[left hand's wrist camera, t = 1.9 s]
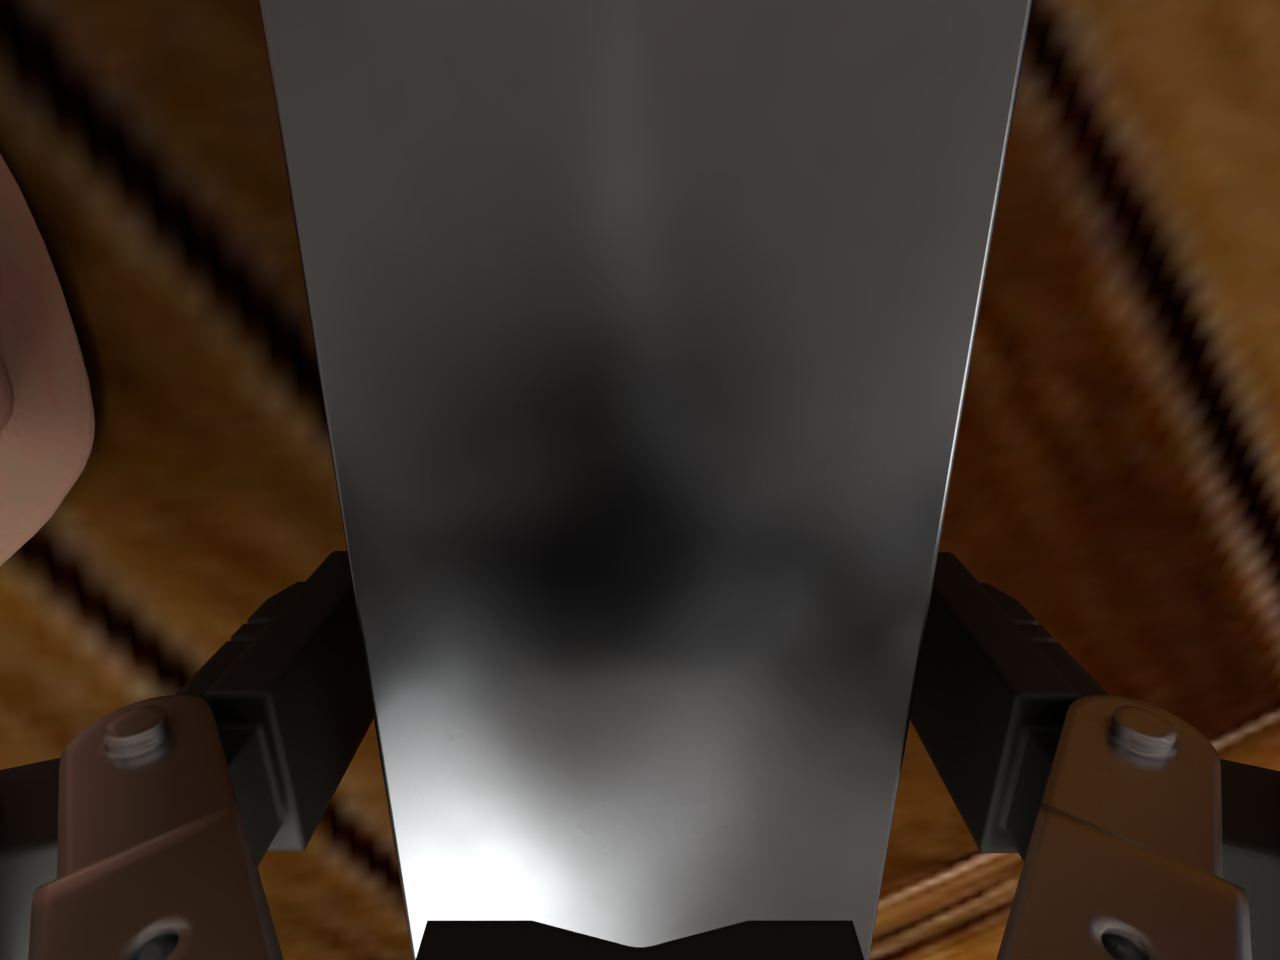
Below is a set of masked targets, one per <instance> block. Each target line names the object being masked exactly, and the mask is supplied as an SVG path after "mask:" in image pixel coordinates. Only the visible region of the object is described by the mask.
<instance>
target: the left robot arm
mask: <svg viewBox="0 0 1280 960" xmlns="http://www.w3.org/2000/svg"><path fill="white" fill-rule="evenodd" d="M373 719H374V715H373V709H372V703H371V696H370V690H369V684H368V678H367V671H366V665H365V659H364V653H363V646H362V640H361V634H360V628H359V622H358V615H357V609H356V603H355V597H354V590H353V584H352V578H351V572H350V565H349V559H348V553H347V551H334V552H332V553H331V554H330V555H329V556H328V557H327V558H326V559H325V561H324V562H323V563H322V564H321V565H320V566H319V567H318V568H317V569H316V570H315V572H314V573H313V574H312V575H311V576H310V577H309V578H308V579H307V580H306V582H297V583H295V584H293V585H291V586H290V587H288V588H286V589H284V590H283V591H281V592H279V593H277V594H276V595H274V596H272V597H270V598H269V599H267V600H266V601H265V602H264V603H263V604H262V605H261V606H260V607H259V609H258V610H257V611H256V612H255V613H254V614H253V615H252V616H251V617H250V618H249V619H248V623H247V624H243V625H242V626H241V627H240V628H239V629H238V630H237V631H236V632H235V633H234V634H233V636H232V637H231V641H227V642H226V643H225V644H224V645H223V646H222V647H221V648H220V649H219V650H218V651H217V652H216V653H215V654H214V655H213V656H212V657H211V658H210V659H209V660H208V661H207V663H206V664H205V665H204V666H203V667H202V668H201V669H200V670H199V671H198V672H197V673H196V674H195V675H194V676H193V677H192V678H191V679H190V680H189V681H188V682H187V683H186V684H185V685H184V686H183V687H182V688H181V690H180V691H179V692H178V693H177V694H176V695H169V696H161V697H156V698H151V699H146V700H143V701H140V702H136V703H133V704H131V705H128V706H125V707H123V708H120V709H118V710H116V711H114V712H111V713H109V714H108V715H106V716H104V717H102V718H100V719H99V720H97V721H95V722H94V723H92V724H91V725H89V726H88V727H87V728H85V729H84V730H83V731H81V732H80V733H79V734H78V735H77V736H76V737H75V738H74V739H73V740H72V741H71V742H70V743H69V744H68V746H67V747H66V748H65V750H64V752H63V754H62V756H61V758H57V759H52V760H48V761H43V762H38V763H33V764H28V765H23V766H19V767H14V768H9V769H4V770H0V960H283V957H282V953H281V950H280V946H279V942H278V939H277V935H276V932H275V928H274V925H273V921H272V918H271V914H270V911H269V907H268V904H267V900H266V897H265V893H264V889H263V886H262V882H261V879H260V875H259V872H258V868H257V867H258V865H259V864H260V862H261V860H262V858H263V857H264V855H265V853H266V852H267V850H305V848H306V846H307V844H308V842H309V840H310V838H311V837H312V835H313V833H314V831H315V829H316V827H317V825H318V823H319V821H320V819H321V818H322V816H323V814H324V812H325V810H326V808H327V806H328V804H329V802H330V800H331V799H332V797H333V795H334V793H335V791H336V789H337V787H338V785H339V783H340V781H341V780H342V778H343V776H344V774H345V772H346V770H347V768H348V766H349V764H350V762H351V761H352V759H353V757H354V755H355V753H356V751H357V749H358V747H359V745H360V743H361V742H362V740H363V738H364V736H365V734H366V732H367V730H368V728H369V726H370V724H371V723H372V721H373ZM910 720H911V722H912V724H913V726H914V728H915V729H916V731H917V733H918V735H919V737H920V739H921V741H922V743H923V745H924V746H925V748H926V750H927V752H928V754H929V756H930V758H931V760H932V761H933V763H934V765H935V767H936V769H937V771H938V773H939V775H940V776H941V778H942V780H943V782H944V784H945V786H946V788H947V790H948V791H949V793H950V795H951V797H952V799H953V801H954V803H955V805H956V806H957V808H958V810H959V812H960V814H961V816H962V818H963V820H964V821H965V823H966V825H967V827H968V829H969V831H970V833H971V835H972V836H973V838H974V840H975V842H976V844H977V846H978V848H979V850H980V852H981V853H1019V854H1020V856H1021V858H1022V859H1023V861H1024V865H1023V868H1022V872H1021V875H1020V879H1019V882H1018V886H1017V889H1016V893H1015V897H1014V900H1013V904H1012V907H1011V911H1010V914H1009V918H1008V921H1007V925H1006V928H1005V932H1004V935H1003V939H1002V942H1001V946H1000V950H999V953H998V957H997V960H1280V771H1276V770H1271V769H1266V768H1261V767H1256V766H1251V765H1247V764H1242V763H1237V762H1232V761H1227V760H1223V759H1220V758H1219V756H1218V754H1217V752H1216V750H1215V748H1214V747H1213V746H1212V744H1211V743H1210V742H1209V741H1208V740H1207V739H1206V738H1205V737H1204V736H1203V735H1202V734H1201V733H1200V732H1199V731H1197V730H1196V729H1195V728H1193V727H1192V726H1191V725H1189V724H1188V723H1186V722H1185V721H1183V720H1181V719H1180V718H1178V717H1176V716H1174V715H1172V714H1171V713H1169V712H1166V711H1164V710H1162V709H1160V708H1157V707H1155V706H1152V705H1149V704H1147V703H1144V702H1140V701H1137V700H1134V699H1129V698H1124V697H1119V696H1111V695H1109V694H1108V693H1107V692H1106V691H1105V690H1104V689H1103V688H1102V687H1101V686H1100V685H1099V684H1098V683H1097V682H1096V681H1095V680H1094V679H1093V678H1092V677H1091V676H1090V675H1089V674H1088V673H1087V672H1086V671H1085V670H1084V669H1083V668H1082V667H1081V666H1080V665H1079V664H1078V663H1077V662H1076V661H1075V660H1074V658H1073V657H1072V656H1071V655H1070V654H1069V653H1068V652H1067V651H1066V650H1065V649H1064V648H1063V647H1062V646H1061V645H1060V644H1059V643H1054V638H1053V637H1052V636H1051V635H1050V634H1049V633H1048V632H1047V631H1046V630H1045V629H1044V628H1043V627H1042V626H1041V625H1037V620H1036V619H1035V618H1034V617H1033V616H1032V615H1031V614H1030V613H1029V612H1028V611H1027V610H1026V609H1025V608H1024V607H1023V606H1022V605H1021V604H1020V603H1019V602H1018V601H1017V600H1015V599H1014V598H1012V597H1010V596H1008V595H1007V594H1005V593H1003V592H1001V591H1000V590H998V589H996V588H994V587H993V586H991V585H989V584H987V583H979V582H978V581H977V580H976V579H975V578H974V577H973V576H972V574H971V573H970V572H969V571H968V570H967V569H966V568H965V567H964V566H963V565H962V563H961V562H960V561H959V560H958V559H957V558H956V557H955V556H954V555H953V554H952V553H950V552H938V558H937V563H936V569H935V575H934V581H933V587H932V593H931V598H930V604H929V610H928V616H927V622H926V628H925V633H924V639H923V645H922V651H921V657H920V663H919V668H918V674H917V680H916V686H915V692H914V698H913V703H912V709H911V715H910ZM416 960H864V957H863V953H862V950H861V947H860V943H859V940H858V937H857V933H856V930H855V927H854V923H853V920H748V921H744V922H740V923H737V924H733V925H729V926H725V927H722V928H718V929H714V930H710V931H706V932H703V933H699V934H695V935H691V936H687V937H684V938H680V939H676V940H672V941H669V942H665V943H661V944H657V945H653V946H648V947H632V946H627V945H623V944H619V943H615V942H611V941H608V940H604V939H600V938H596V937H593V936H589V935H585V934H581V933H577V932H574V931H570V930H566V929H562V928H558V927H555V926H551V925H547V924H543V923H540V922H536V921H532V920H427V923H426V927H425V930H424V933H423V937H422V940H421V943H420V947H419V950H418V953H417V957H416Z"/></svg>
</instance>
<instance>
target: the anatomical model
mask: <svg viewBox="0 0 1280 960" xmlns="http://www.w3.org/2000/svg"><path fill="white" fill-rule="evenodd" d="M94 435H95V416H94V407H93V401H92V395H91V389H90V384H89V379H88V375H87V371H86V367H85V363H84V359H83V355H82V351H81V348H80V345H79V341H78V338H77V335H76V332H75V329H74V326H73V322H72V319H71V316H70V313H69V310H68V307H67V304H66V301H65V298H64V295H63V292H62V288H61V285H60V283H59V280H58V277H57V275H56V272H55V269H54V267H53V264H52V261H51V259H50V256H49V253H48V251H47V248H46V246H45V243H44V241H43V238H42V236H41V234H40V232H39V230H38V227H37V225H36V223H35V221H34V218H33V216H32V214H31V212H30V210H29V207H28V205H27V203H26V201H25V199H24V196H23V194H22V192H21V190H20V188H19V186H18V184H17V183H16V181H15V179H14V177H13V175H12V173H11V172H10V170H9V168H8V166H7V164H6V163H5V161H4V159H3V157H2V155H1V153H0V566H1V565H2V564H3V563H4V562H5V561H7V560H8V559H9V558H10V557H11V556H12V555H13V554H14V553H15V552H16V551H17V550H18V549H20V548H21V547H22V546H23V545H24V544H25V543H26V542H27V541H28V540H29V539H30V538H31V537H33V536H34V535H35V534H36V533H37V532H38V531H39V530H40V529H41V527H42V526H43V525H44V524H45V523H46V522H47V521H48V520H49V519H50V518H51V517H52V515H53V514H54V512H55V511H56V510H57V508H58V507H59V505H60V504H61V502H62V501H63V499H64V498H65V497H66V495H67V494H68V492H69V491H70V489H71V488H72V486H73V485H74V483H75V482H76V481H77V479H78V478H79V476H80V474H81V473H82V471H83V469H84V467H85V465H86V463H87V460H88V458H89V456H90V453H91V451H92V446H93V440H94Z"/></svg>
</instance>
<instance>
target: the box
mask: <svg viewBox="0 0 1280 960" xmlns="http://www.w3.org/2000/svg"><path fill="white" fill-rule="evenodd" d="M1032 3H1033V0H259V4H260V10H261V16H262V23H263V29H264V35H265V41H266V48H267V54H268V60H269V66H270V73H271V79H272V85H273V91H274V98H275V104H276V110H277V116H278V122H279V129H280V135H281V141H282V147H283V154H284V160H285V166H286V172H287V179H288V185H289V191H290V197H291V204H292V210H293V216H294V222H295V229H296V235H297V241H298V247H299V253H300V260H301V266H302V272H303V278H304V285H305V291H306V297H307V303H308V310H309V316H310V322H311V328H312V335H313V341H314V347H315V353H316V360H317V366H318V372H319V378H320V384H321V391H322V397H323V403H324V409H325V416H326V422H327V428H328V434H329V441H330V447H331V453H332V459H333V466H334V472H335V478H336V484H337V491H338V497H339V503H340V509H341V515H342V522H343V528H344V534H345V540H346V547H347V553H348V559H349V565H350V572H351V578H352V584H353V590H354V597H355V603H356V609H357V615H358V622H359V628H360V634H361V640H362V646H363V653H364V659H365V665H366V671H367V678H368V684H369V690H370V696H371V703H372V709H373V715H374V721H375V728H376V734H377V740H378V746H379V753H380V759H381V765H382V771H383V777H384V784H385V790H386V796H387V802H388V809H389V815H390V821H391V827H392V834H393V840H394V846H395V852H396V859H397V865H398V871H399V877H400V884H401V890H402V896H403V902H404V908H405V915H406V921H407V927H408V933H409V940H410V946H411V952H412V958H413V960H416V957H417V953H418V950H419V947H420V943H421V940H422V937H423V933H424V930H425V927H426V923H427V920H532V921H536V922H540V923H543V924H547V925H551V926H555V927H558V928H562V929H566V930H570V931H574V932H577V933H581V934H585V935H589V936H593V937H596V938H600V939H604V940H608V941H611V942H615V943H619V944H623V945H627V946H632V947H648V946H653V945H657V944H661V943H665V942H669V941H672V940H676V939H680V938H684V937H687V936H691V935H695V934H699V933H703V932H706V931H710V930H714V929H718V928H722V927H725V926H729V925H733V924H737V923H740V922H744V921H748V920H853V923H854V927H855V930H856V933H857V937H858V940H859V943H860V947H861V950H862V953H863V957H864V960H869V954H870V948H871V943H872V937H873V931H874V925H875V919H876V913H877V908H878V902H879V896H880V890H881V884H882V878H883V873H884V867H885V861H886V855H887V849H888V843H889V838H890V832H891V826H892V820H893V814H894V808H895V803H896V797H897V791H898V785H899V779H900V773H901V768H902V762H903V756H904V750H905V744H906V738H907V733H908V727H909V721H910V715H911V709H912V703H913V698H914V692H915V686H916V680H917V674H918V668H919V663H920V657H921V651H922V645H923V639H924V633H925V628H926V622H927V616H928V610H929V604H930V598H931V593H932V587H933V581H934V575H935V569H936V563H937V558H938V552H939V546H940V540H941V534H942V528H943V523H944V517H945V511H946V505H947V499H948V493H949V487H950V482H951V476H952V470H953V464H954V458H955V452H956V447H957V441H958V435H959V429H960V423H961V417H962V412H963V406H964V400H965V394H966V388H967V382H968V377H969V371H970V365H971V359H972V353H973V347H974V342H975V336H976V330H977V324H978V318H979V312H980V307H981V301H982V295H983V289H984V283H985V277H986V272H987V266H988V260H989V254H990V248H991V242H992V237H993V231H994V225H995V219H996V213H997V207H998V202H999V196H1000V190H1001V184H1002V178H1003V172H1004V167H1005V161H1006V155H1007V149H1008V143H1009V137H1010V132H1011V126H1012V120H1013V114H1014V108H1015V102H1016V97H1017V91H1018V85H1019V79H1020V73H1021V67H1022V62H1023V56H1024V50H1025V44H1026V38H1027V32H1028V27H1029V21H1030V15H1031V9H1032Z"/></svg>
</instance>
